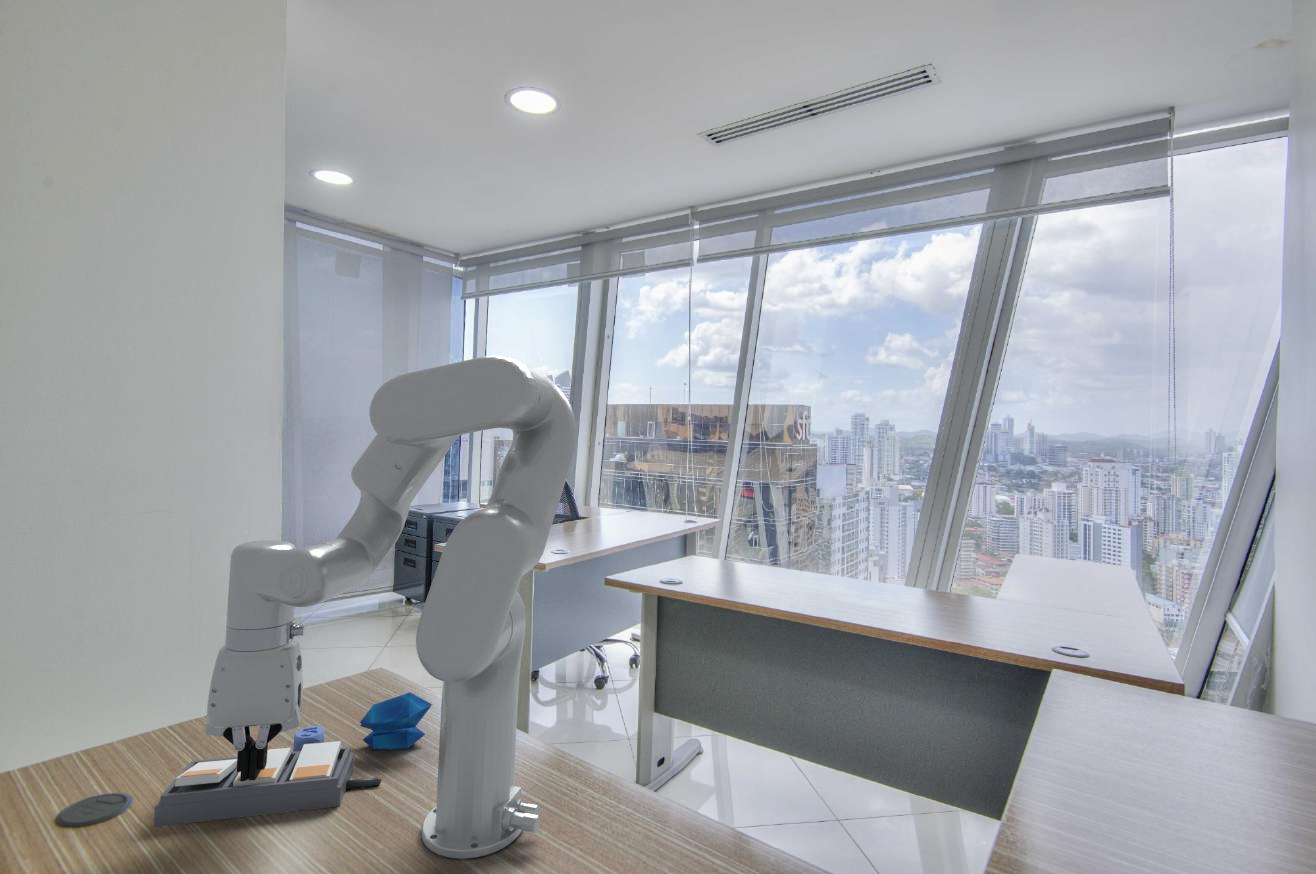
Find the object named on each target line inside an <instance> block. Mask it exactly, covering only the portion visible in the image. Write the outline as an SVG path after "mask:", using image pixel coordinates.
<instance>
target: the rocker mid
mask: <svg viewBox="0 0 1316 874" xmlns="http://www.w3.org/2000/svg"><path fill="white" fill-rule="evenodd" d="M291 752H292V747H284V748H271V749H268V751H267V764H266V767H265V769H264V770H261V771H260V773H259V775H258V776H257V778H256V780H251V781H250V780H249V778H248V779H247V780H246V781H240V776H241V772H239V773H238V775H237V777H236V778H235V780H234V781H233V787H238V786H248V785H258V784H268V783H276V782H277V780H278V778H279V776H280V774H281V772H282V770H283V768H284V766H285V764H286V763H287V761H288V759H289V757H290V755H291Z"/></svg>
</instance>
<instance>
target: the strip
mask: <svg viewBox="0 0 1316 874" xmlns="http://www.w3.org/2000/svg"><path fill="white" fill-rule="evenodd" d="M300 753H301V751H297V752H293V751H291V755H290V757H289V759H288V761H287V763H286V764H285V766H284V768H283V770H282V772H281V774H280V776H279V778H278V780H277V782H276V783H268V784H258V785H248V786H238V787H233V781H234V780H235V778H236V777H237V775H238V773H239V772H237V768H236V769H234V770H233V771H232V772H231V773H229V774H228V776H226V777H225V778H223V779H222V780H221V781H220V782H216V783H206V784H195V785H185V786H175V782H176V778H175V779H174V780H173V781H172V782H171V783H170V784H169V786H168V787H167V788H166V789H165V790H164V791H163V792H162V793H161V795H160V796H159V797H160V798H159V799H160V800H159V801H158V803H156V805H155V806H154V816H153V818H154V819H153V827H154V828H155V827H163V826H164V827H165V826H173V825H180V824H181V825H182V824H191V823H192V824H193V823H199V822H211V821H218V820H220V821H221V820H227V819H235V818H236V819H237V818H244V817H255V816H262V815H263V816H264V815H272V814H280V813H282V814H283V813H291V812H300V811H307V810H317V809H326V808H334V807H341V805H342V802H343V799H344V796H345V794H346V790H347V789H353V788H361V787H372V786H379V785H380V784H381V783H382V778H381V777H379V776H378V777H365V778H357V779H351V777H352V775H353V773H354V758H355V757H354V756H355V754H351V746H346V747H345V746H343V747H342V746H341V748H340V751H339V754H338V758H337V761H336V764H335V767H334V770H333V773H332V776H331V777H328V778H318V779H308V780H298V781H289V780H290V777H291V775H292V772H293V770H294V767H295V765H296V763H297V760H298V758H299V755H300ZM237 757H238V756H232V757H220V758H219V757H218V758H207V759H206V758H205V759H195V760H191V761H190V762H189V763H188V764H187V765H186V766H185V767H184V768H183V770H182V771H181V772H179V774H178V776H180V775H181V774H183V773H184V772H185V771H187V770H188V769H190V768H191V767H193V766H194V765H196V764H197V763H199V762H209V761H220V760H232V759H237ZM178 776H177V777H178Z"/></svg>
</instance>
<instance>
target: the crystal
mask: <svg viewBox="0 0 1316 874" xmlns="http://www.w3.org/2000/svg"><path fill="white" fill-rule="evenodd" d="M432 706H433V704H432V703H431V702H428V700H426V699H424V698H422V697H420V696H418V695H417V694H415V693H413V692H412V691H410V692H407V693H404V694H401V695H398V696H395V697H392V698H388V699H386V700H383V701H380V702H377V703H374V704H373V705H372V706H371V707H370V708H369V709H368V711H367V712H366V714H365V715H364V716H363V718H362V719H361V720H360V721H359V724H360V727H362V728H365V729H368V730H370V731H371V732H370V733H368V735H366V736H365V737H364V738H363V739H362V741H363V742H364V743H365V744H366V745H368V747H370V748H371V749H372V750H373V749H375V751H376V749H380V750H381V749H386V750H408V749H409V748H411V747H412V746H413V745H414V744H416V743H417V742H418V741H419V740H421V739H422V738H423V737H424V736H425V735H426V733H425V732H423V731H422V730H421V729H419V728H418V727H417V725H418V724H419V723H420V722H421V720H423V717H424V716H425V715H426V714H427V712H428V711H429V710H430V709H431V707H432ZM381 751H382V750H381Z"/></svg>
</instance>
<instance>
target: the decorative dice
mask: <svg viewBox="0 0 1316 874" xmlns="http://www.w3.org/2000/svg"><path fill="white" fill-rule="evenodd" d="M313 743H325V728H323V727H322V726H318V725H317V726H316V725H312V726H306V727H304V728H301V729H299V730H298V731H296V732H295V733H294V737H293V748H292V752H297V751H301V750H302V748H303V745H304V744H313Z"/></svg>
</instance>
